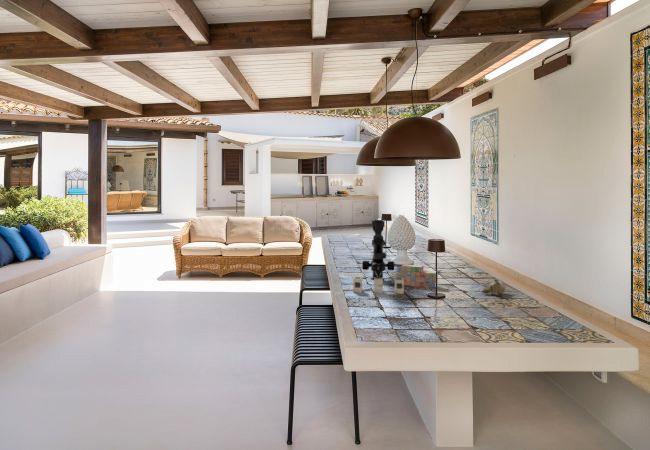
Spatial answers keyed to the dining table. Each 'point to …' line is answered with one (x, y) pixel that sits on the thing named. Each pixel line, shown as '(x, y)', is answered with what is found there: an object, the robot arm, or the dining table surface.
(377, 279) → the plain block
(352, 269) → the dining table surface
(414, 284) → the stack of blocks
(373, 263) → the robot arm
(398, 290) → the marked block 2
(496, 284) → the ceramic sculpture
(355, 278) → the marked block 1
